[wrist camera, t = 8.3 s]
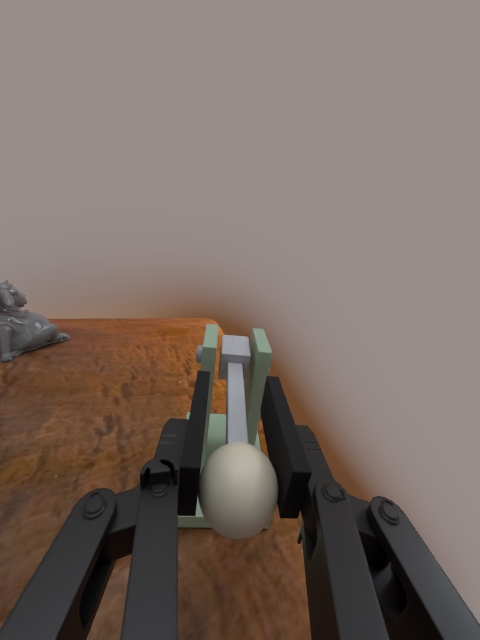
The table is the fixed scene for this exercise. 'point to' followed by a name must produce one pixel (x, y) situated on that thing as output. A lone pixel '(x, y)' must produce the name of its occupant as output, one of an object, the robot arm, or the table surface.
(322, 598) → the robot arm
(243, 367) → the knob lever
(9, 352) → the figurine
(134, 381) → the table surface
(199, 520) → the green lever stand
